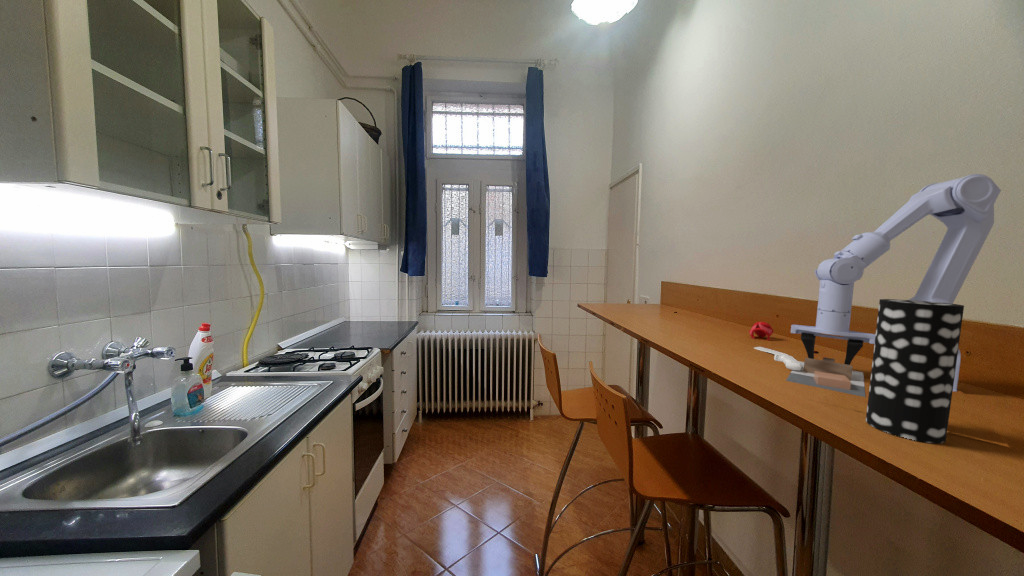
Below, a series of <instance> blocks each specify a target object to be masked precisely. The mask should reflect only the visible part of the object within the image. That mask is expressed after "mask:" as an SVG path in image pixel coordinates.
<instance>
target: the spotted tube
mask: <svg viewBox="0 0 1024 576" xmlns="http://www.w3.org/2000/svg"><path fill="white" fill-rule="evenodd" d="M964 309H965V305H964V304H963V305H962V304H957V303H953V304H950V303H940V302H929V301H915V300H909V299H893V298H882V299H881V298H880V299H879V303H878V310H877V311H878V312H877V320H876V328H875V329H876V330H875V334H876V336H875V344H873V345H874V346H873V355H872V356H873V357H872V361H871V362H872V364H871V372H870V381H869V390H868V397H867V405H866V413H865V414H866V415H865V422H866V423H867V424H868V425H869V426H871V427H873V428H874V429H877V430H878V429H879V431H881V432H883V433H886V432H887V433H886V434H889V433H890V434H889V435H891V434H892V435H891V436H895V435H896V436H895V437H898V436H899V438H901V437H904V438H903V439H905V438H907V439H906V440H909V439H912V440H911V441H914V440H915V442H919V443H920V442H921V443H925V444H926V443H927V444H944V443H946V441H947V435H948V428H949V421H950V413H951V406H952V398H953V392H954V391H953V384H954V377H955V369H956V362H957V355H958V349H959V347H960V345H959V344H960V339H961V332H962V325H963V317H964V316H963V315H964ZM943 442H944V443H943Z"/></svg>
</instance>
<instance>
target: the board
mask: <svg viewBox="0 0 1024 576" xmlns="http://www.w3.org/2000/svg"><path fill="white" fill-rule="evenodd" d="M797 361H798V362H799V363H800V364H801V366H802V368H801V369H800V370H792V369H791V371H790V373H789V375H788V376H787V378H786V380H785V382H790V383H796V384H800V385H806V386H810V387H814V388H818V389H819V388H820V389H823V390H829V391H834V392H839V393H843V394H848V395H853V396H857V397H862V398H863V397H864V398H866V390H865V389H866V388H865V377H864V372H863V371H858V370H853V369H852V377H851V381H850V382H851V386H850V390H848V389H842V388H836V387H830V386H824V385H818V384H817V383H816V381H815V380H814V374H813V373H807V372H803V371H804V361H799V360H797Z"/></svg>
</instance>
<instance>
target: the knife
mask: <svg viewBox="0 0 1024 576" xmlns="http://www.w3.org/2000/svg"><path fill="white" fill-rule="evenodd" d="M753 349H755V350H757V351H760V352H765V353H769V354H772V355H774V356H773V359H774V361H776V362H783V363H784V365H785V367H786V369H789V370H791V371H792V370H800V369H801V368H802V366H801V364H800V363H799V362H798V361H799V360H797V359H796V358H794V357H793V356H792V355H789V354H787V353H784V352H780V351H777V350H774V349H770V348H766V347H763V346H755V347H753Z"/></svg>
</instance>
